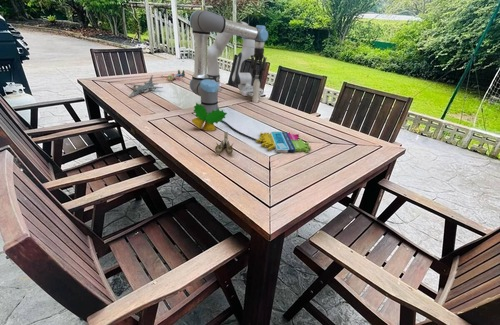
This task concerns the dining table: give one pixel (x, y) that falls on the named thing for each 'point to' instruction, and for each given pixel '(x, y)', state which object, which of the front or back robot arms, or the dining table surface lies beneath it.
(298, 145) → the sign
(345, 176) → the dining table surface
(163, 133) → the dining table surface
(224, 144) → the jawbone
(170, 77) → the toy
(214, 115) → the ornament
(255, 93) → the bottle
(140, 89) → the airplane
